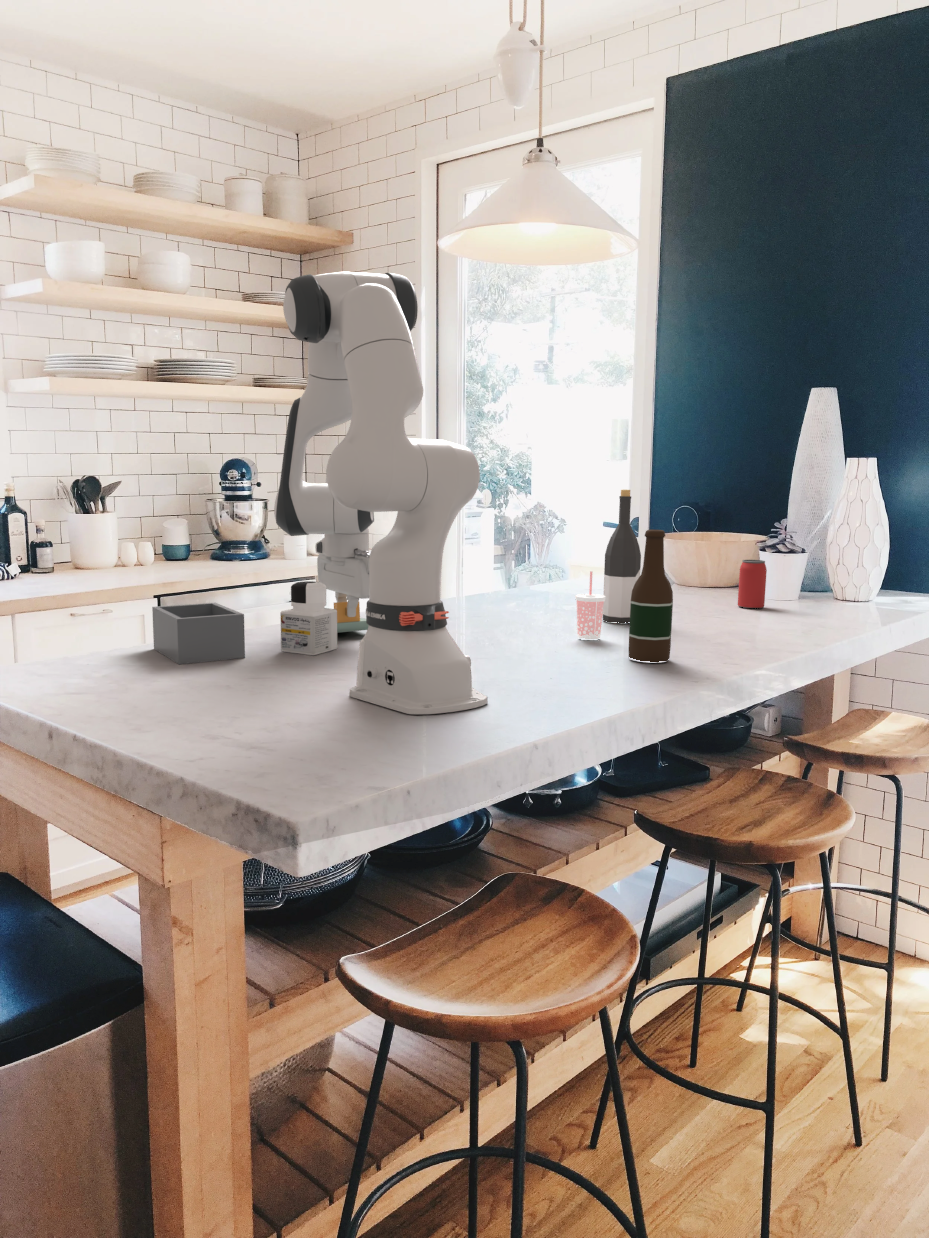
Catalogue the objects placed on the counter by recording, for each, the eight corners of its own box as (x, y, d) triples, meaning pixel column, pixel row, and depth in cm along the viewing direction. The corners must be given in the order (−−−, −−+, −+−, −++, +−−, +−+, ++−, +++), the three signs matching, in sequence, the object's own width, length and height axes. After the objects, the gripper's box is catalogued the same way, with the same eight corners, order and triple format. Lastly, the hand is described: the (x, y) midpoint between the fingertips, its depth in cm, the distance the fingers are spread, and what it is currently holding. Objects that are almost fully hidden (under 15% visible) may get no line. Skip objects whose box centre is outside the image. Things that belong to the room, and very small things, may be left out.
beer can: (738, 608, 243) (741, 561, 241) (736, 605, 250) (738, 559, 248) (765, 609, 242) (769, 562, 240) (762, 606, 248) (765, 559, 247)
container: (280, 651, 180) (279, 582, 178) (305, 645, 187) (304, 578, 185) (313, 656, 177) (312, 585, 175) (338, 649, 184) (337, 581, 182)
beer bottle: (619, 659, 178) (625, 529, 174) (642, 654, 183) (648, 527, 179) (655, 666, 172) (662, 532, 168) (678, 660, 178) (685, 530, 174)
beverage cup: (595, 635, 202) (598, 569, 200) (609, 641, 196) (611, 572, 194) (569, 637, 200) (571, 570, 198) (581, 642, 194) (584, 573, 192)
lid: (377, 629, 197) (376, 600, 196) (323, 634, 190) (322, 604, 190) (343, 624, 210) (342, 597, 210) (292, 629, 204) (290, 600, 203)
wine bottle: (602, 618, 225) (607, 488, 221) (637, 619, 224) (643, 489, 219) (602, 623, 218) (607, 489, 213) (638, 624, 216) (644, 490, 212)
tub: (244, 657, 174) (243, 614, 173) (178, 664, 168) (177, 619, 167) (216, 643, 188) (215, 602, 186) (153, 648, 181) (152, 606, 180)
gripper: (385, 550, 186) (385, 621, 188) (339, 542, 203) (339, 607, 205) (355, 552, 182) (355, 624, 184) (311, 543, 199) (312, 609, 201)
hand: (347, 615), depth 195 cm, fingers closed on lid
